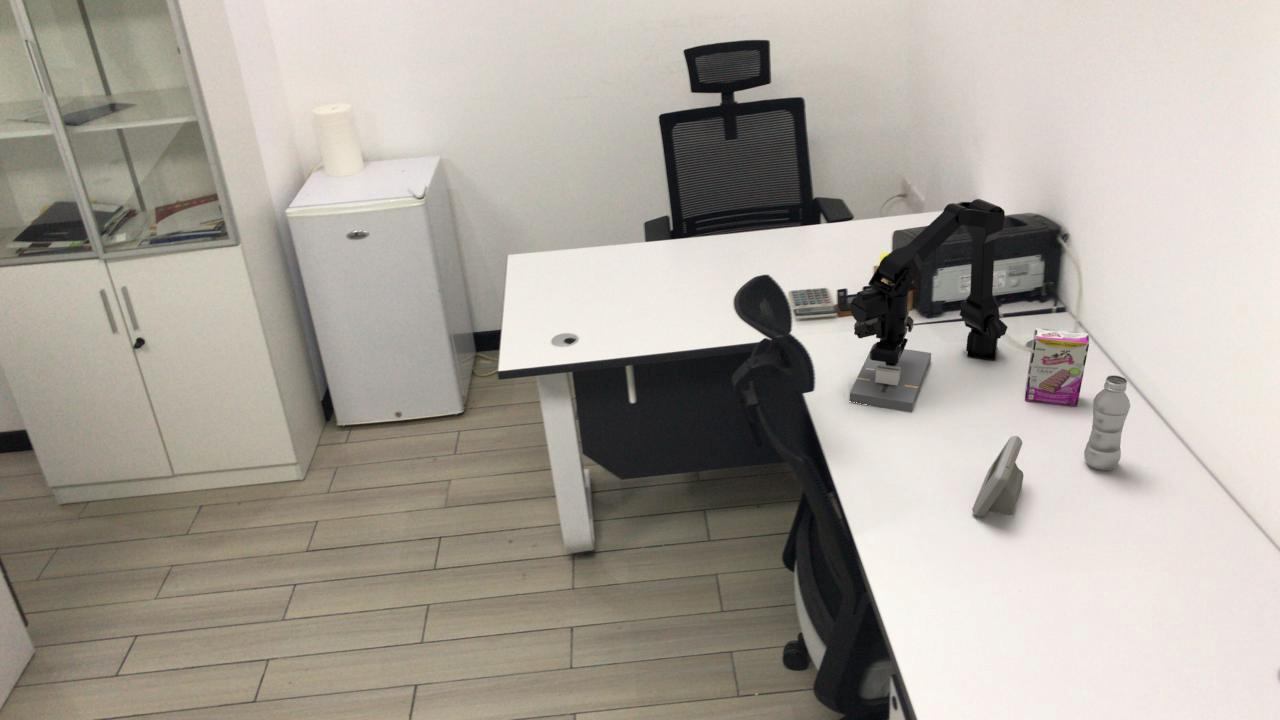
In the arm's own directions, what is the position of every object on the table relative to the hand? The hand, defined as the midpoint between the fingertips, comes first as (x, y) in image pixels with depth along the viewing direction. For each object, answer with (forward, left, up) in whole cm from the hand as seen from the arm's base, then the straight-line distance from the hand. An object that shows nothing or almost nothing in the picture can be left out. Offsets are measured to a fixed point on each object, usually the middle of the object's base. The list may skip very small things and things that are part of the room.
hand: (890, 370), depth 232 cm
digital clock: (-28, +36, -4) cm, 46 cm away
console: (0, -2, -4) cm, 5 cm away
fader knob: (0, +3, -1) cm, 3 cm away
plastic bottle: (-46, +18, -4) cm, 50 cm away
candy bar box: (-35, -5, -4) cm, 36 cm away
